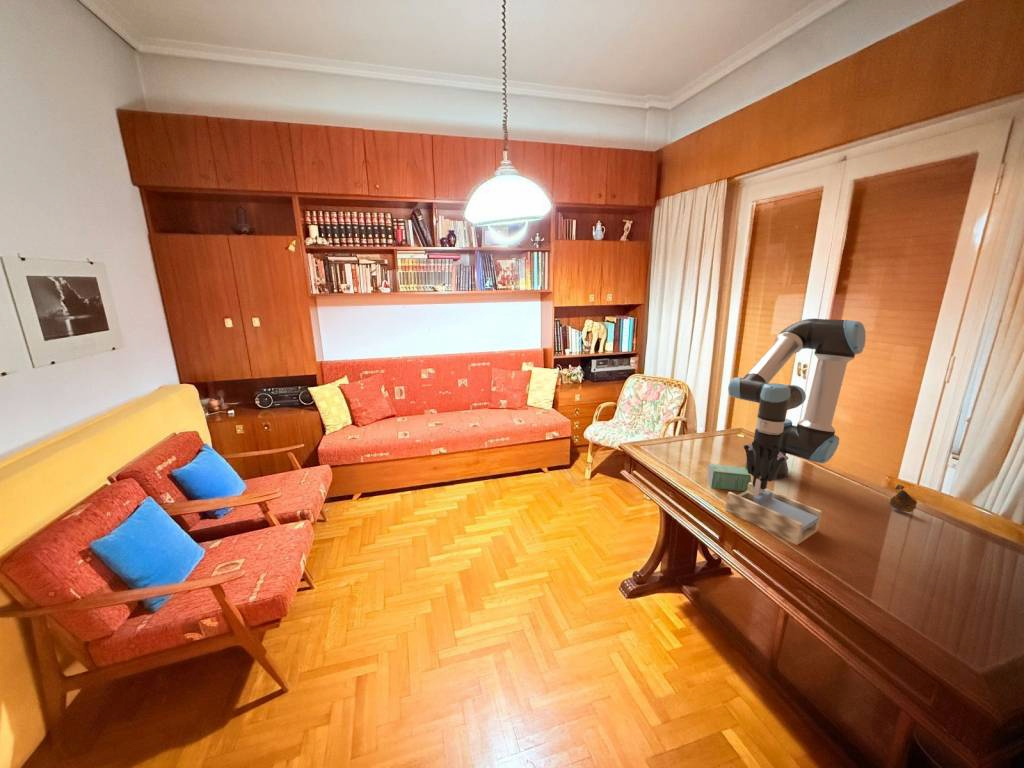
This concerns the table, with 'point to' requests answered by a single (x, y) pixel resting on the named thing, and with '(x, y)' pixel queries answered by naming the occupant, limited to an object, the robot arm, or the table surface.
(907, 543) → the table surface
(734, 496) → the case
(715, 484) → the box
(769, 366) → the robot arm
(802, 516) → the cover plate
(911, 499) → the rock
